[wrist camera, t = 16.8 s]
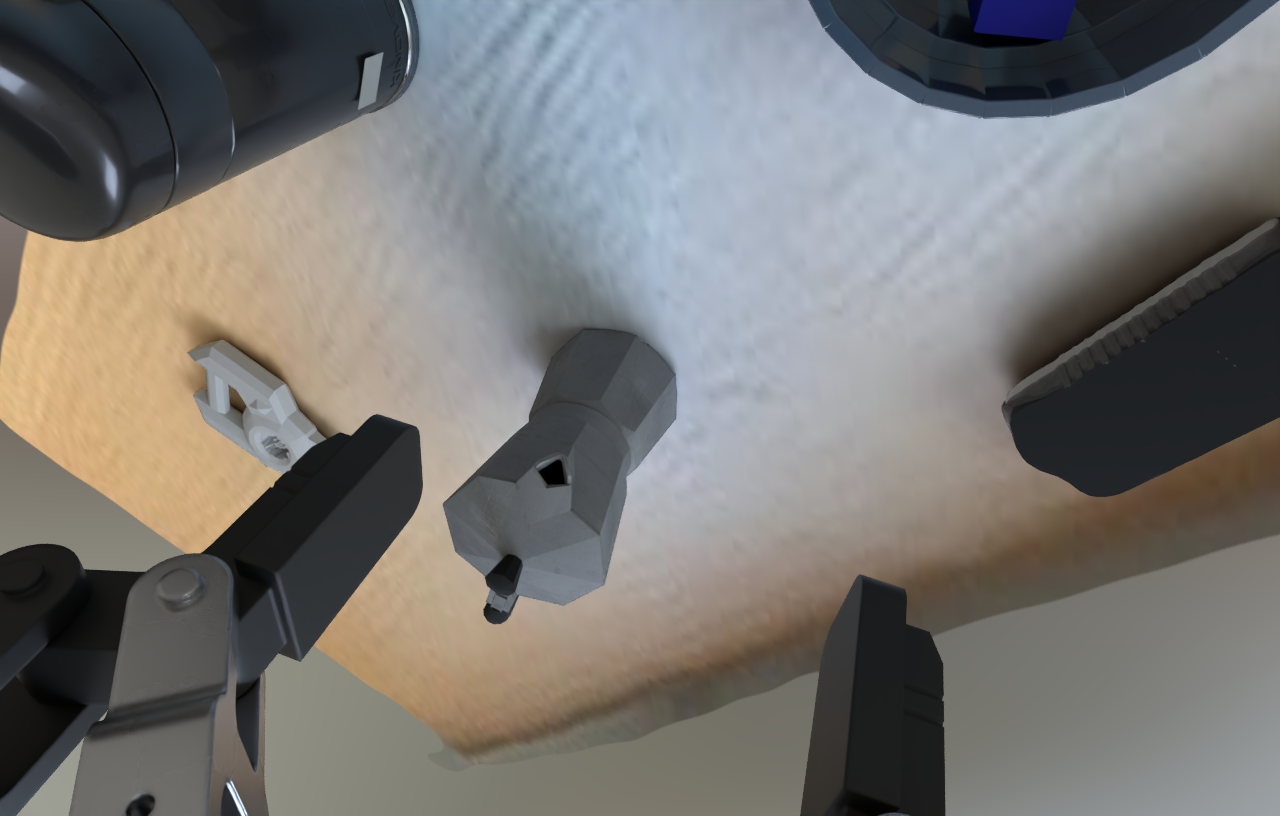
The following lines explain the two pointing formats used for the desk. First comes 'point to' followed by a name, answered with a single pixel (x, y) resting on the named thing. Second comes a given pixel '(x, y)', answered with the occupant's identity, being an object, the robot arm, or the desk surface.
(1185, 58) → the bucket
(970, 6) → the blue long angular piece
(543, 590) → the coffeepot
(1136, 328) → the dark rounded block
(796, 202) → the desk surface
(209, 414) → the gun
